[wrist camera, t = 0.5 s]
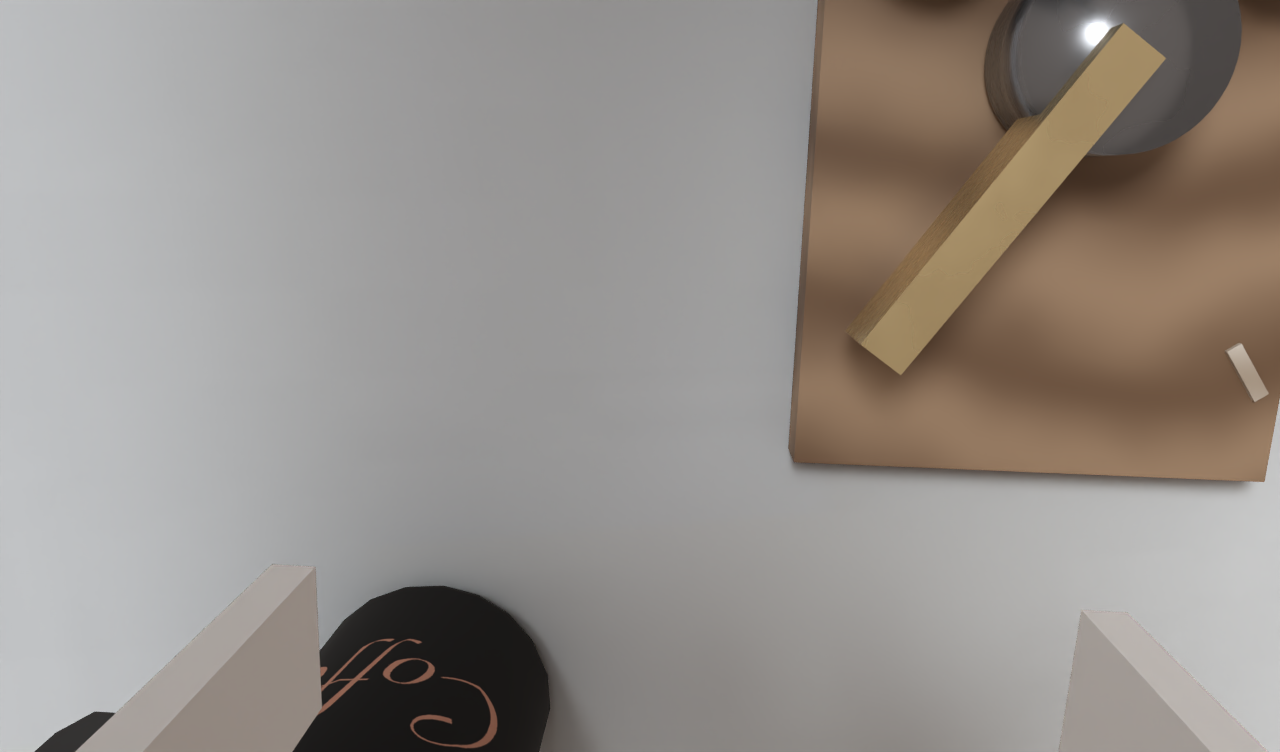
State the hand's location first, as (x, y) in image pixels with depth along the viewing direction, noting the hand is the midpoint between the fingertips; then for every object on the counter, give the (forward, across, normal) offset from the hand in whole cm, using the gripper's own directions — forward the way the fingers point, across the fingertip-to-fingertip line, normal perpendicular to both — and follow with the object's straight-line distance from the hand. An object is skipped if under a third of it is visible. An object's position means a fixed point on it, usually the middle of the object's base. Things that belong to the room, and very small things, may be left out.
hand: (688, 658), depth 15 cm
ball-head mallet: (+22, +11, +9) cm, 26 cm away
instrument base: (+24, +14, +9) cm, 29 cm away
